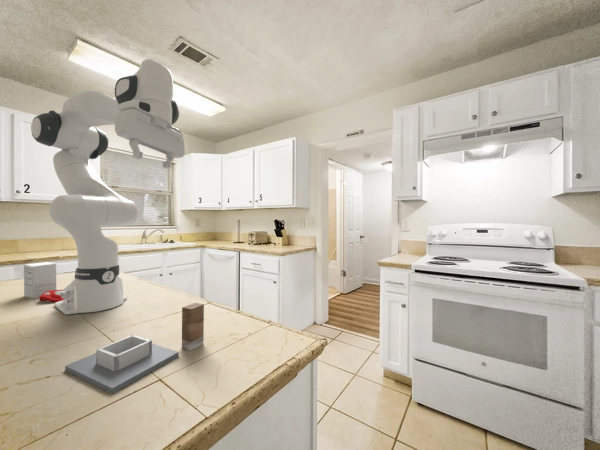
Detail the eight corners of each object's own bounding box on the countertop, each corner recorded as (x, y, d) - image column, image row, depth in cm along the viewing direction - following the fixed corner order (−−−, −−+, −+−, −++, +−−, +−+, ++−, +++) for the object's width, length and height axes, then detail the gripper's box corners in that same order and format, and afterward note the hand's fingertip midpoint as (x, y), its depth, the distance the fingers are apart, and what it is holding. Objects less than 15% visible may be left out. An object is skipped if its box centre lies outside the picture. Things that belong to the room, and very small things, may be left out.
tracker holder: (73, 298, 95) (37, 296, 90) (70, 309, 95) (34, 307, 90) (81, 284, 105) (49, 281, 100) (78, 293, 106) (46, 291, 100)
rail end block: (181, 348, 62) (182, 307, 62) (194, 341, 66) (195, 302, 65) (190, 350, 61) (191, 309, 60) (203, 343, 64) (203, 304, 64)
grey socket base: (65, 370, 52) (65, 351, 52) (133, 341, 65) (134, 325, 65) (112, 393, 45) (112, 371, 45) (178, 356, 58) (178, 338, 58)
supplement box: (48, 291, 106) (48, 261, 106) (56, 294, 103) (56, 263, 103) (23, 296, 100) (23, 264, 99) (31, 299, 96) (31, 266, 96)
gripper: (175, 133, 85) (173, 173, 84) (112, 101, 66) (109, 153, 65) (190, 130, 83) (188, 171, 82) (129, 96, 64) (126, 150, 63)
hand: (153, 163), depth 73 cm, fingers open, 8 cm apart
